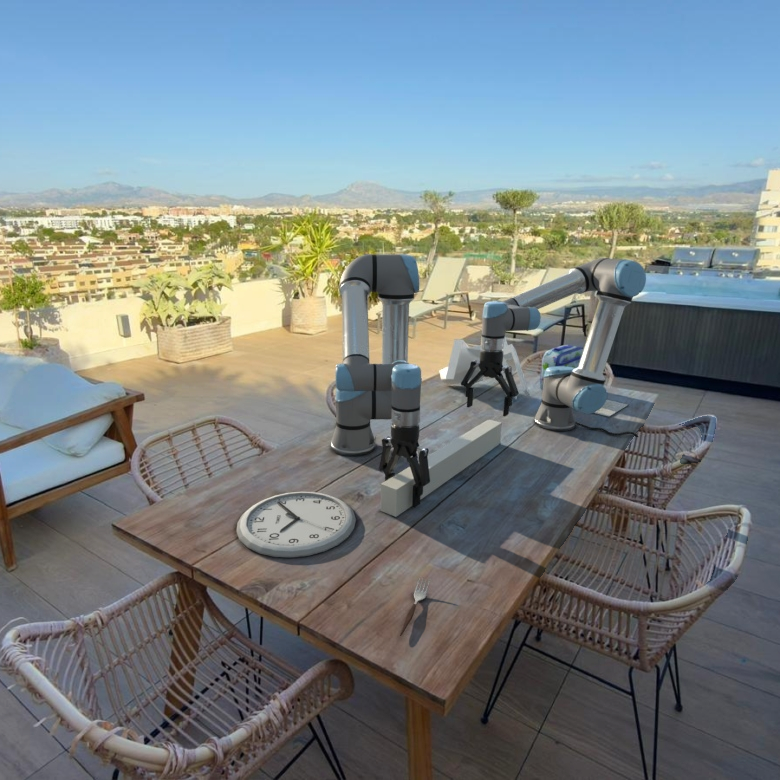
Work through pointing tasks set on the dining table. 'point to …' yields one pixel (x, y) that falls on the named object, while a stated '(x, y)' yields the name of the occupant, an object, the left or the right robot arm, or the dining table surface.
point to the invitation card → (610, 408)
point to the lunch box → (561, 358)
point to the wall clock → (296, 524)
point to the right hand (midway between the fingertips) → (487, 410)
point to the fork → (418, 596)
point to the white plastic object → (465, 355)
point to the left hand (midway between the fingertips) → (403, 500)
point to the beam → (440, 466)
